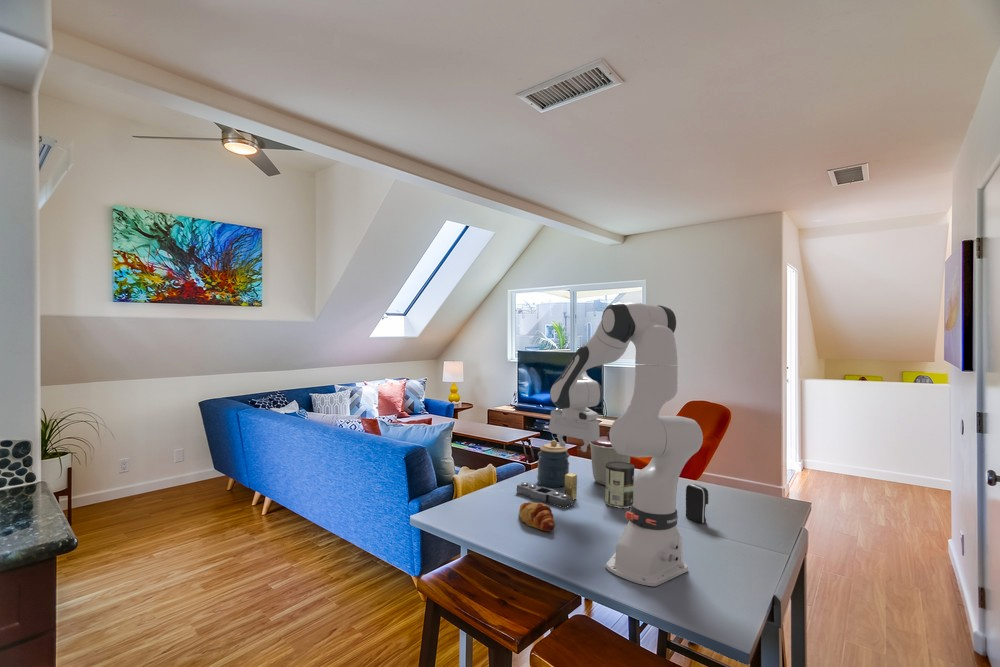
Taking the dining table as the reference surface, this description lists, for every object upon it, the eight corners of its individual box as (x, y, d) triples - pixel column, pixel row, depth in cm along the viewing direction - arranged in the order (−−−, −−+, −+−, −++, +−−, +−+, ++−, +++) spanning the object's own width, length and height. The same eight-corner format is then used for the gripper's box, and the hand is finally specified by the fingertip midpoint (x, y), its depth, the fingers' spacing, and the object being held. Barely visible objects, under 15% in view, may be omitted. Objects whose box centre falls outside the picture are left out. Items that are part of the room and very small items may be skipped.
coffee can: (629, 499, 178) (630, 461, 178) (637, 509, 168) (638, 469, 168) (602, 498, 178) (602, 460, 178) (607, 508, 168) (608, 468, 168)
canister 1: (534, 478, 201) (535, 436, 201) (564, 478, 203) (565, 436, 203) (540, 488, 188) (541, 443, 188) (572, 487, 190) (573, 443, 190)
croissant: (514, 522, 162) (504, 502, 161) (537, 505, 166) (528, 485, 165) (545, 546, 143) (534, 524, 142) (570, 526, 147) (560, 505, 145)
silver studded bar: (562, 509, 166) (563, 498, 166) (515, 493, 181) (515, 484, 181) (574, 504, 171) (574, 494, 171) (526, 489, 186) (526, 480, 186)
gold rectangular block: (571, 501, 174) (572, 476, 174) (564, 499, 176) (564, 474, 176) (576, 499, 177) (577, 474, 177) (569, 497, 179) (569, 473, 179)
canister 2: (635, 480, 202) (636, 430, 203) (628, 492, 186) (630, 438, 186) (593, 473, 210) (594, 426, 210) (583, 485, 193) (584, 433, 193)
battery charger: (709, 523, 157) (710, 488, 157) (701, 524, 155) (702, 489, 155) (692, 515, 163) (693, 482, 163) (684, 517, 161) (685, 483, 162)
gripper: (546, 408, 181) (545, 445, 182) (593, 416, 168) (591, 455, 168) (555, 407, 186) (554, 442, 186) (602, 414, 172) (601, 452, 173)
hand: (572, 448), depth 177 cm, fingers open, 8 cm apart
